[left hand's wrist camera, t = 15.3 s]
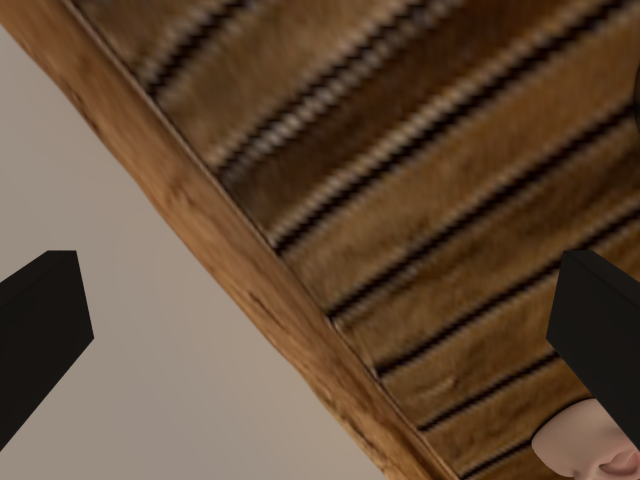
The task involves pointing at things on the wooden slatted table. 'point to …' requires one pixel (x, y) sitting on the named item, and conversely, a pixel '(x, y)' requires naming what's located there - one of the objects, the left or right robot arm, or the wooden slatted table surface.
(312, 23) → the wooden slatted table surface
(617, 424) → the left robot arm
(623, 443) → the anatomical model
